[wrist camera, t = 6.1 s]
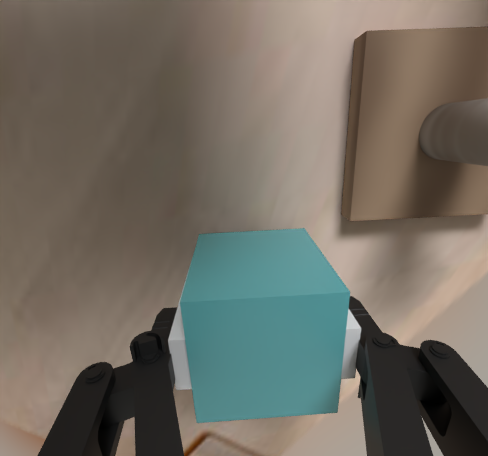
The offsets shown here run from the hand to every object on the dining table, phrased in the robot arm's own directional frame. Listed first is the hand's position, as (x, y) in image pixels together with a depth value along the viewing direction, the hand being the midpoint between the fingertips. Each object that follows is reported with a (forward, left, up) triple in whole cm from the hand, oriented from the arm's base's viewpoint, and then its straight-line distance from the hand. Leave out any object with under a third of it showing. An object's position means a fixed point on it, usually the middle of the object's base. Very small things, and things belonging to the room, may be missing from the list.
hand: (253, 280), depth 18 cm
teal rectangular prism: (0, 0, 0) cm, 0 cm away
